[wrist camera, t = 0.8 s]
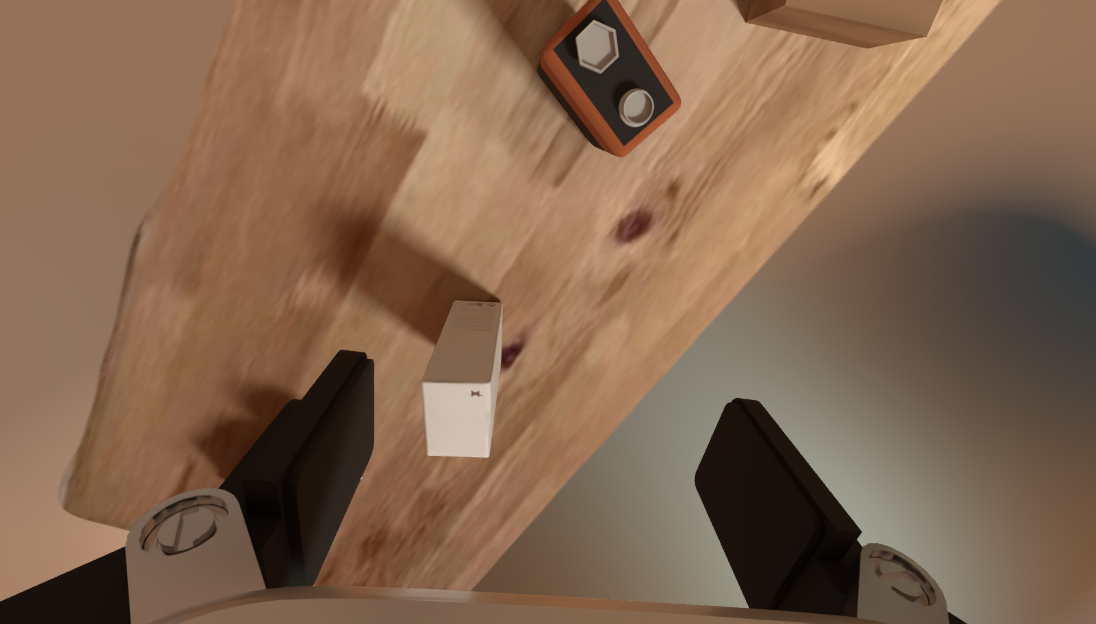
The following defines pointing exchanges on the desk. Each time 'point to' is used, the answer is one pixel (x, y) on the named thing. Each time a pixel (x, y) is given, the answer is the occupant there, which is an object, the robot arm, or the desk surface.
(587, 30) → the battery
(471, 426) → the skincare box
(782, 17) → the walnut block
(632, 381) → the desk surface
